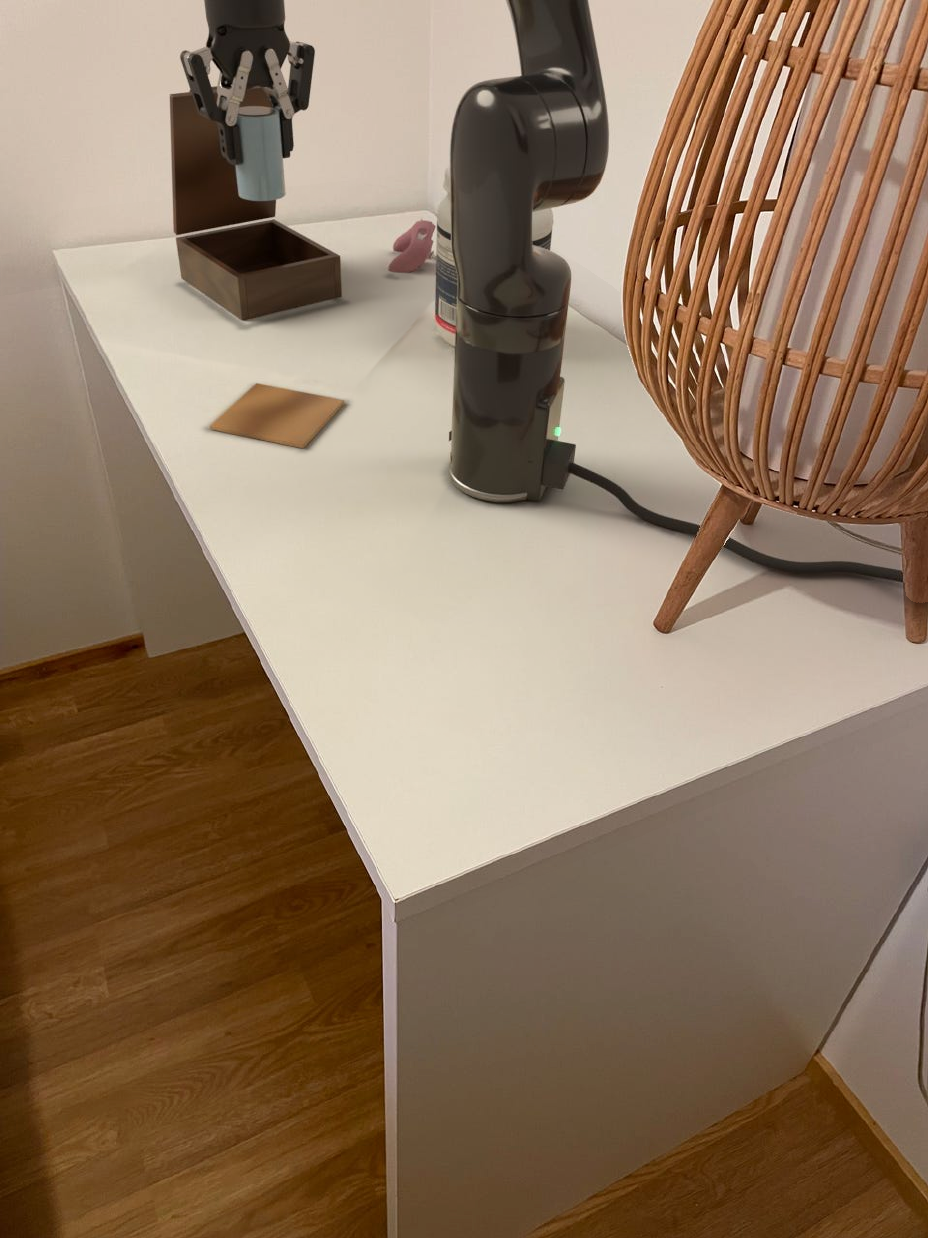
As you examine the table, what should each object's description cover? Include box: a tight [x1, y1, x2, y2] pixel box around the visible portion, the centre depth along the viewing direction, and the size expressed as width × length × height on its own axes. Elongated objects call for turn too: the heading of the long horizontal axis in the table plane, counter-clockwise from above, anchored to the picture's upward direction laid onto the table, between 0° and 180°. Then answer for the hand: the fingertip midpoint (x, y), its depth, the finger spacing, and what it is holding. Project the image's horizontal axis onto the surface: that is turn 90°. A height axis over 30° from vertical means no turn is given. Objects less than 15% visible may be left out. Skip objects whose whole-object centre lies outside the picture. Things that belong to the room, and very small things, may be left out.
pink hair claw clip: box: [388, 217, 436, 273], centre depth 130 cm, size 10×5×7 cm, turn 179°
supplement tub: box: [434, 164, 554, 348], centre depth 109 cm, size 13×13×18 cm
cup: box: [235, 106, 287, 201], centre depth 102 cm, size 5×5×8 cm
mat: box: [209, 382, 345, 449], centre depth 98 cm, size 10×10×1 cm
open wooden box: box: [175, 219, 343, 322], centre depth 120 cm, size 16×14×6 cm
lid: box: [169, 85, 277, 236], centre depth 117 cm, size 17×14×5 cm
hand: (259, 158), depth 102 cm, fingers closed on cup, 5 cm apart
